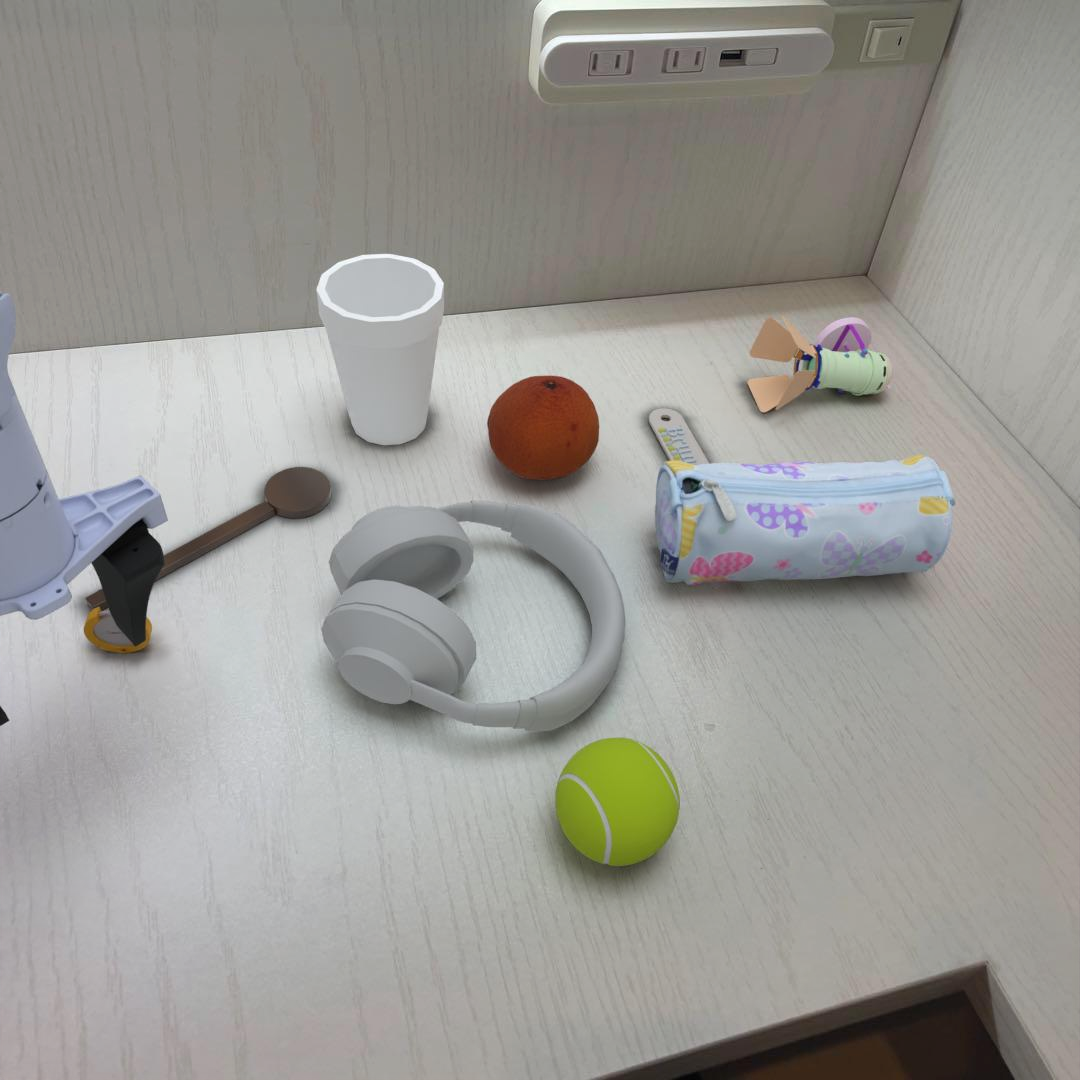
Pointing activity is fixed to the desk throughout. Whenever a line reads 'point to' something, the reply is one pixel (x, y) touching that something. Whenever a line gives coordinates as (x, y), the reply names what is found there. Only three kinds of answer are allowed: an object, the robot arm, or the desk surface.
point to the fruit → (543, 427)
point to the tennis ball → (617, 801)
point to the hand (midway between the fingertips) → (65, 671)
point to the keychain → (676, 437)
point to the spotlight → (819, 362)
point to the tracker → (110, 633)
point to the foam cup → (383, 341)
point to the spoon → (251, 517)
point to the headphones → (437, 631)
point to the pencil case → (800, 519)
